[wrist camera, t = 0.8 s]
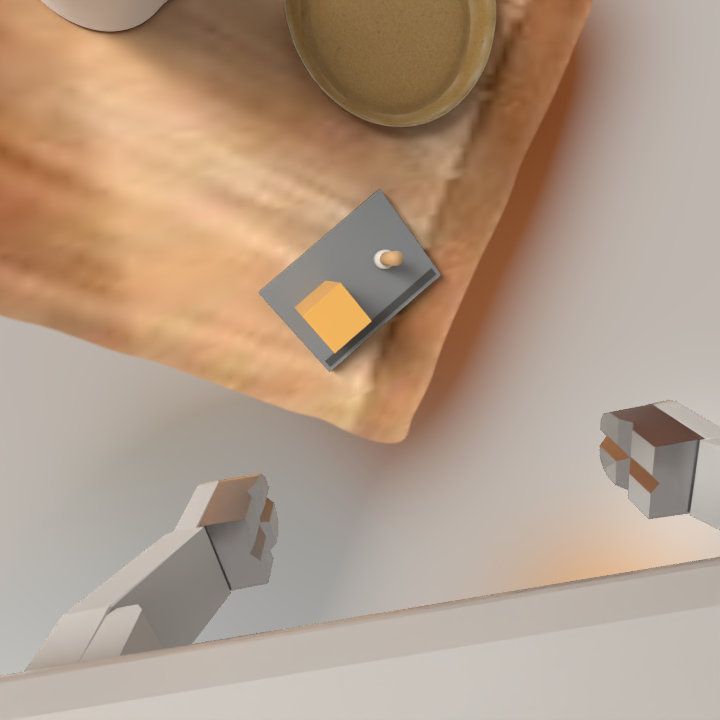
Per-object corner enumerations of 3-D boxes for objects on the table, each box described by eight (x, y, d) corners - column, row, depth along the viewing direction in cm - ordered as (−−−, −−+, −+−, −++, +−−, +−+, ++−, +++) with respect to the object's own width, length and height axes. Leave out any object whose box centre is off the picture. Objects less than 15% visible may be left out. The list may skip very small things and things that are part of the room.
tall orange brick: (294, 307, 50) (301, 316, 40) (325, 280, 50) (340, 282, 40) (321, 338, 51) (334, 353, 42) (351, 311, 51) (371, 321, 42)
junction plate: (327, 368, 54) (337, 384, 47) (258, 292, 50) (258, 295, 43) (434, 274, 55) (462, 275, 47) (375, 191, 51) (395, 178, 43)
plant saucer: (254, 80, 46) (253, 66, 43) (319, -158, 43) (324, -192, 40) (441, 167, 53) (453, 161, 49) (510, -33, 50) (527, -54, 46)
